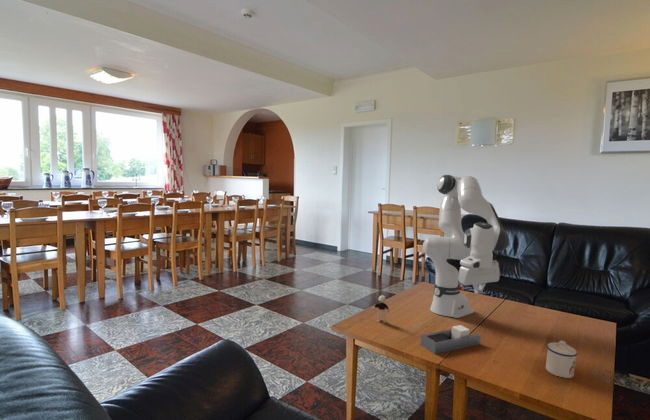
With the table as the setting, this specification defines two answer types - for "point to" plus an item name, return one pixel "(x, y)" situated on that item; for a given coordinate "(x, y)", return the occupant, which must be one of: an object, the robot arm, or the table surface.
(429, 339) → the chute
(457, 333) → the block
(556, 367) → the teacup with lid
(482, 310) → the table surface
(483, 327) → the table surface
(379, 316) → the grandmother figurine
